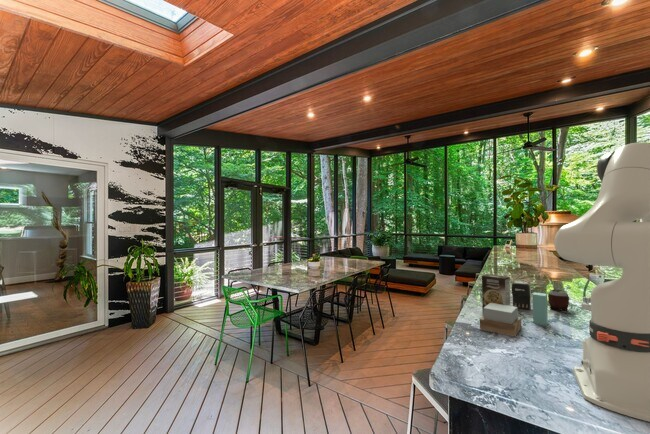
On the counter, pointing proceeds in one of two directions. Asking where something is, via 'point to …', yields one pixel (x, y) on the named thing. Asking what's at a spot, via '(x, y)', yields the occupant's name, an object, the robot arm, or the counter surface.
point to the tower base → (501, 326)
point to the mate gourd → (558, 298)
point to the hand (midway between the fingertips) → (582, 302)
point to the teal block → (540, 308)
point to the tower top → (500, 313)
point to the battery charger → (521, 295)
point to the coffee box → (495, 290)
